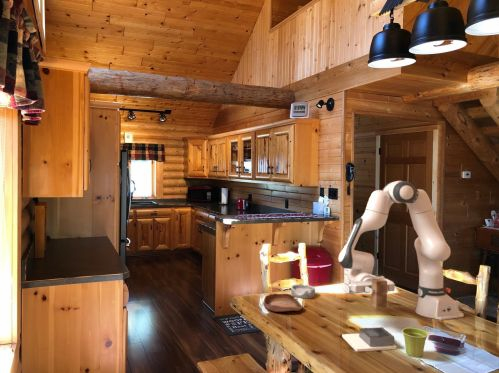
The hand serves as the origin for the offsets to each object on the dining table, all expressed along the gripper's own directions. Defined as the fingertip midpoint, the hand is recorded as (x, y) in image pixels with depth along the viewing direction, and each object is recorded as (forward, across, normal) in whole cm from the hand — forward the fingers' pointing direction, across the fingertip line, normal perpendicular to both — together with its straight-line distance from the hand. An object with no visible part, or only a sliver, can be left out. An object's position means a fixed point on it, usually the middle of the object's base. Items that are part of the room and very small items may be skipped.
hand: (380, 291), depth 182 cm
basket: (-36, -36, +18) cm, 54 cm away
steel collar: (+13, -8, +18) cm, 23 cm away
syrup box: (-59, +11, +18) cm, 62 cm away
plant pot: (+25, +2, +18) cm, 31 cm away
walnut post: (-1, 0, +7) cm, 7 cm away
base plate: (+12, -11, +18) cm, 24 cm away
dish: (-57, -19, +18) cm, 63 cm away
